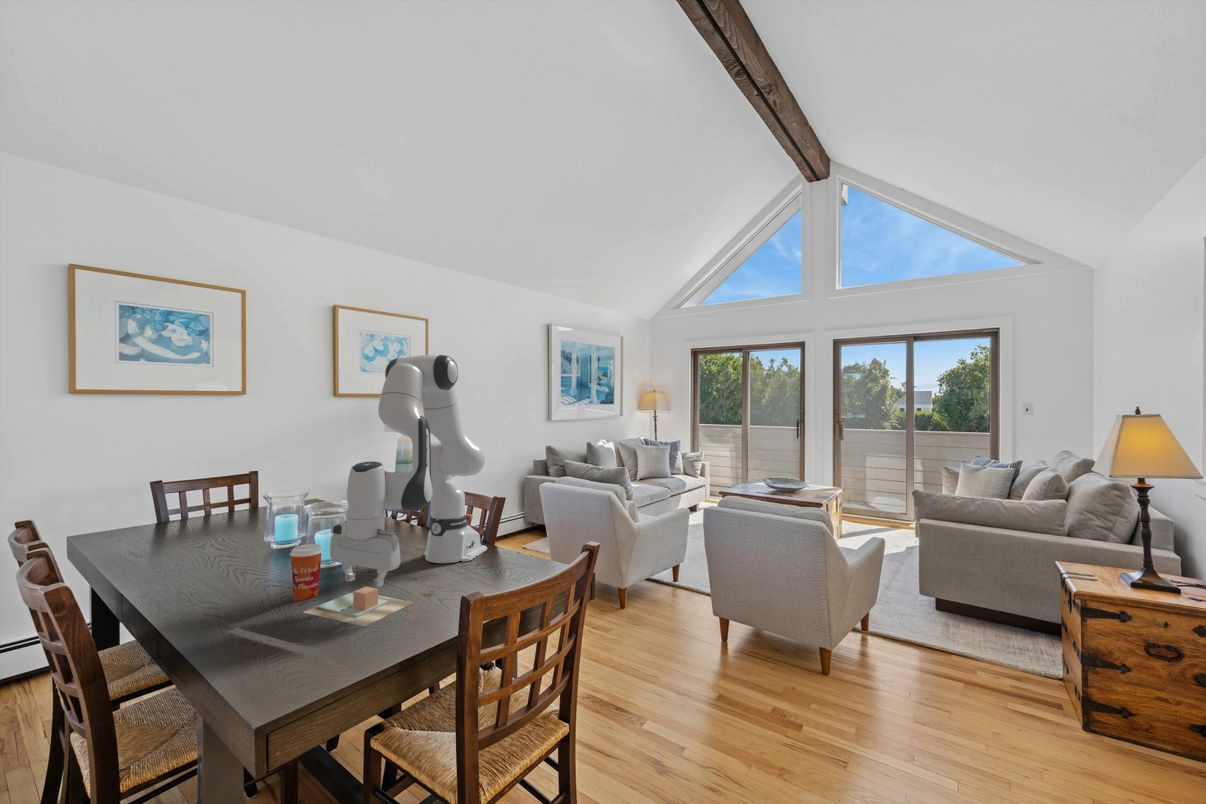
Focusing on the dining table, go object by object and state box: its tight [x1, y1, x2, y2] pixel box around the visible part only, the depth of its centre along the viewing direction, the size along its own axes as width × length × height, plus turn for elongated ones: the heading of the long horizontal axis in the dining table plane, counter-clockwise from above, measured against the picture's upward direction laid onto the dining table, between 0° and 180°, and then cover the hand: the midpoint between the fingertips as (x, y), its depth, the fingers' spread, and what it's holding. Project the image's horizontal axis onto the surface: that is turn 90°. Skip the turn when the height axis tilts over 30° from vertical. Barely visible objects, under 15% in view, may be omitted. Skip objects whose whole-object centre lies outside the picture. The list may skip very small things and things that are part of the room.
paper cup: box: [289, 543, 324, 602], centre depth 140 cm, size 8×8×14 cm
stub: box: [342, 586, 388, 617], centre depth 132 cm, size 10×5×4 cm, turn 157°
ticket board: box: [303, 591, 414, 627], centre depth 133 cm, size 16×20×2 cm
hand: (364, 583), depth 131 cm, fingers open, 8 cm apart
